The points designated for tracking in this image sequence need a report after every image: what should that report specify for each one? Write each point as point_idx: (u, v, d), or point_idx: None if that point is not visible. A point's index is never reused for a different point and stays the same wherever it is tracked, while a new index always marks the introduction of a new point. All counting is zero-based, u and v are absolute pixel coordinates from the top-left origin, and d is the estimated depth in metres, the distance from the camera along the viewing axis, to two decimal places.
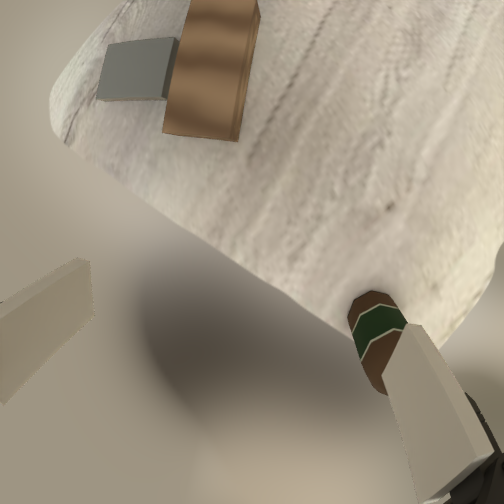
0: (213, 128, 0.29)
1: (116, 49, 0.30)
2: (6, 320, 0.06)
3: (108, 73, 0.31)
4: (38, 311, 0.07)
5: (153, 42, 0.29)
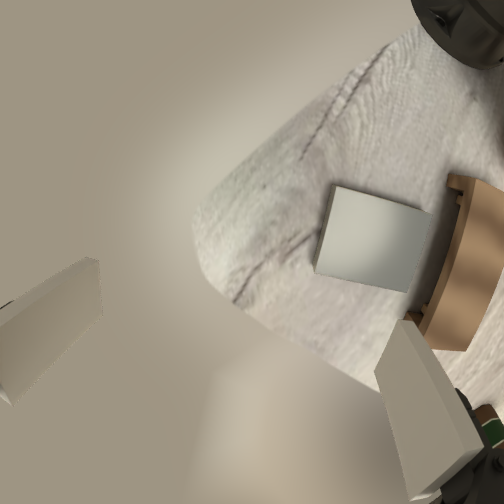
0: (459, 344, 0.26)
1: (352, 202, 0.26)
2: (17, 320, 0.06)
3: (338, 240, 0.28)
4: (48, 310, 0.08)
5: (407, 213, 0.26)
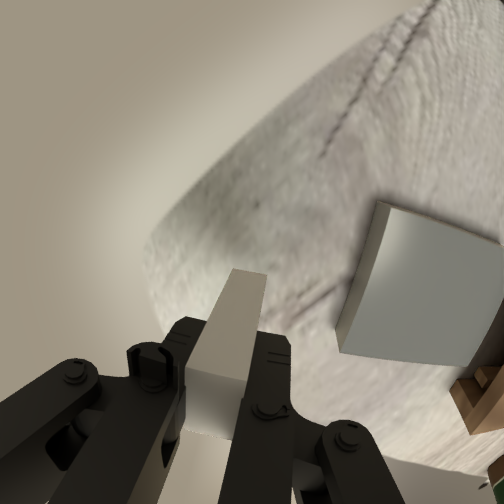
0: None
1: (415, 237, 0.13)
2: None
3: (386, 301, 0.15)
4: None
5: (492, 254, 0.13)
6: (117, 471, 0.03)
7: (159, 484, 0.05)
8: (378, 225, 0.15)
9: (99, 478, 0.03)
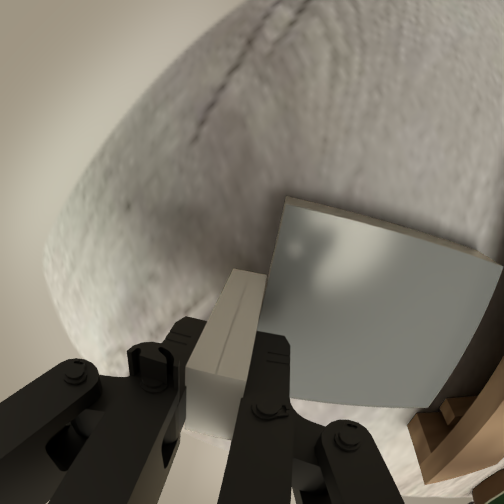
0: (490, 461, 0.10)
1: (328, 245, 0.10)
2: None
3: (292, 332, 0.12)
4: None
5: (459, 267, 0.10)
6: (118, 471, 0.03)
7: (159, 484, 0.05)
8: (279, 229, 0.12)
9: (100, 478, 0.03)
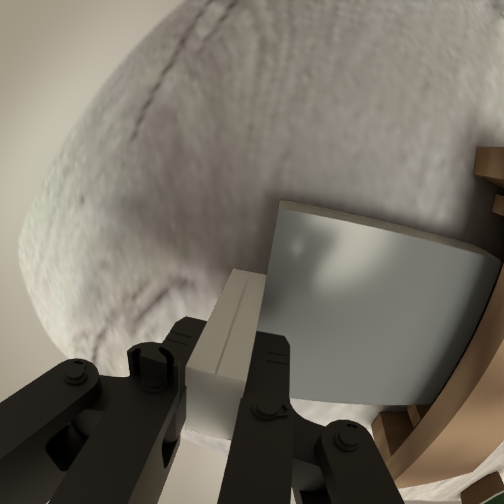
0: (462, 469, 0.10)
1: (322, 247, 0.11)
2: None
3: (291, 333, 0.12)
4: None
5: (456, 263, 0.10)
6: (118, 471, 0.03)
7: (159, 484, 0.05)
8: None
9: (100, 478, 0.03)
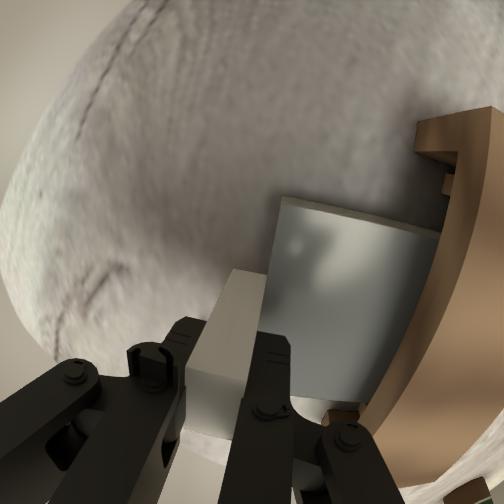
0: (420, 479, 0.11)
1: (325, 243, 0.10)
2: None
3: (292, 330, 0.12)
4: None
5: None
6: (117, 471, 0.03)
7: (159, 484, 0.05)
8: None
9: (99, 478, 0.03)
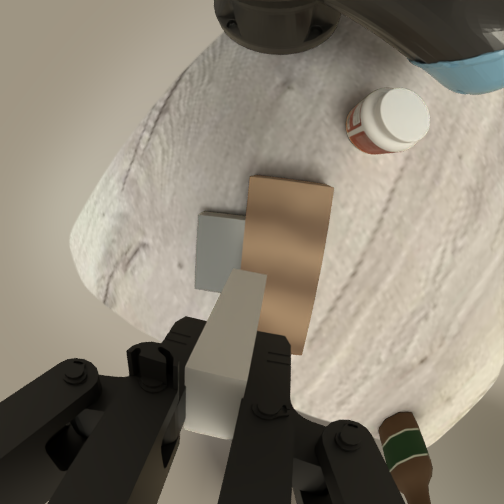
0: None
1: (213, 226, 0.32)
2: None
3: (208, 259, 0.33)
4: None
5: None
6: (117, 471, 0.03)
7: (159, 484, 0.05)
8: None
9: (99, 478, 0.03)
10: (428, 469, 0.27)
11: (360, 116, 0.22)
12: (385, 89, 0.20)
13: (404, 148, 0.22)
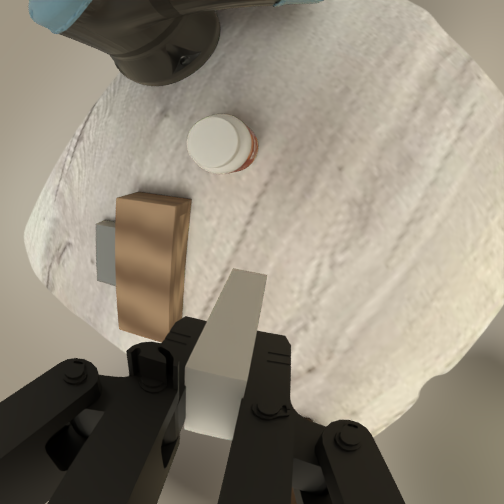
0: (156, 335, 0.37)
1: (105, 233, 0.37)
2: None
3: (103, 258, 0.38)
4: None
5: None
6: (117, 471, 0.03)
7: (159, 484, 0.05)
8: None
9: (99, 478, 0.03)
10: None
11: None
12: (210, 116, 0.25)
13: (225, 171, 0.27)
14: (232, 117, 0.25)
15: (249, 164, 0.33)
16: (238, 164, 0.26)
